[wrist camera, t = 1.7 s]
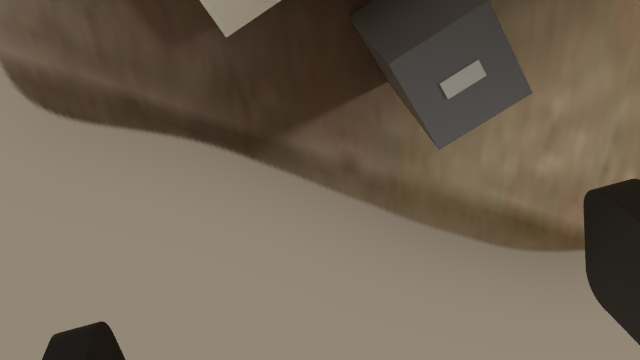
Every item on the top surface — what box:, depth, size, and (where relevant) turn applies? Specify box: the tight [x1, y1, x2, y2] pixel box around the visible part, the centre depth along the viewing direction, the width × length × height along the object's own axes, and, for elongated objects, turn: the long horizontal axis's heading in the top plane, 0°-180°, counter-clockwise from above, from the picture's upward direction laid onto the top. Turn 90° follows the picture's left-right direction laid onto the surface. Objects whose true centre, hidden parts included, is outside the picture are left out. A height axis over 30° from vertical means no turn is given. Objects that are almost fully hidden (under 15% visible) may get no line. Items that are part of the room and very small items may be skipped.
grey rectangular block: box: [349, 0, 532, 149], centre depth 26 cm, size 4×4×9 cm
